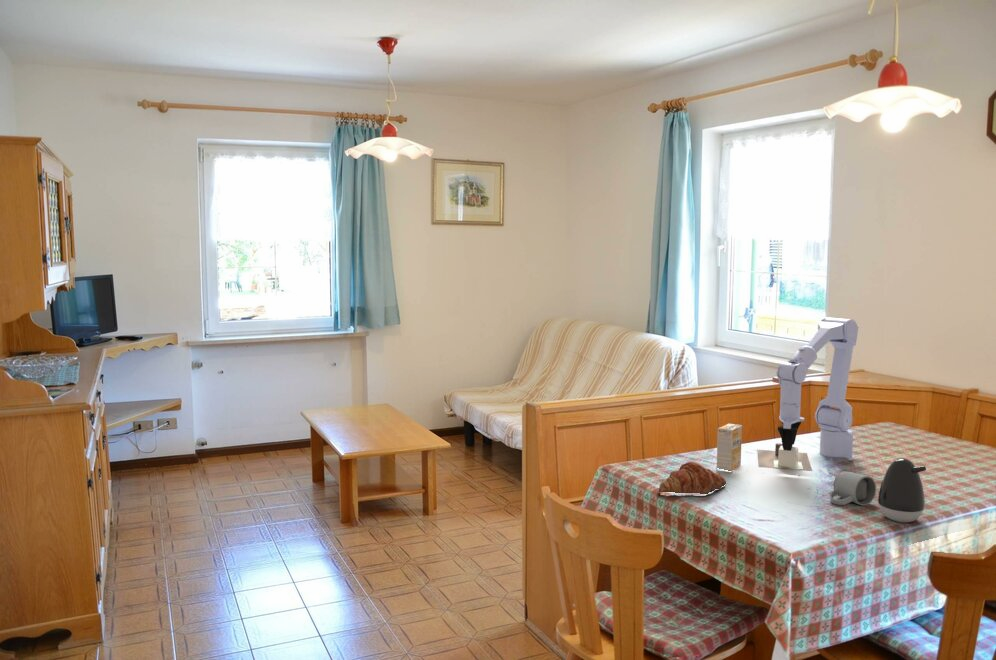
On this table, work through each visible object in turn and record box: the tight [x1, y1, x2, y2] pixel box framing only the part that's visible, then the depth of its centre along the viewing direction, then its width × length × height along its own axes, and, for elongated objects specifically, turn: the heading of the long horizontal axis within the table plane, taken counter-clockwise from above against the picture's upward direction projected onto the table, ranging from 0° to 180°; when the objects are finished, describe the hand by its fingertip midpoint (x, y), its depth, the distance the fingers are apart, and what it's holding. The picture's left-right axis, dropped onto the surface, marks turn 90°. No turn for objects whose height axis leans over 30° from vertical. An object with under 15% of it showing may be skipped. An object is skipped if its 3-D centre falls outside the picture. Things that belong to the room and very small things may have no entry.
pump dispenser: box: [877, 457, 927, 523], centre depth 190 cm, size 10×10×15 cm
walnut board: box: [756, 442, 813, 472], centre depth 240 cm, size 15×20×4 cm
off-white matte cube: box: [778, 446, 799, 468], centre depth 234 cm, size 5×5×5 cm
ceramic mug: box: [829, 471, 877, 506], centre depth 204 cm, size 11×8×8 cm
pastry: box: [658, 461, 727, 494], centre depth 213 cm, size 17×15×8 cm
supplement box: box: [716, 423, 743, 471], centre depth 233 cm, size 8×5×13 cm, turn 143°
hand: (788, 447), depth 234 cm, fingers open, 7 cm apart
